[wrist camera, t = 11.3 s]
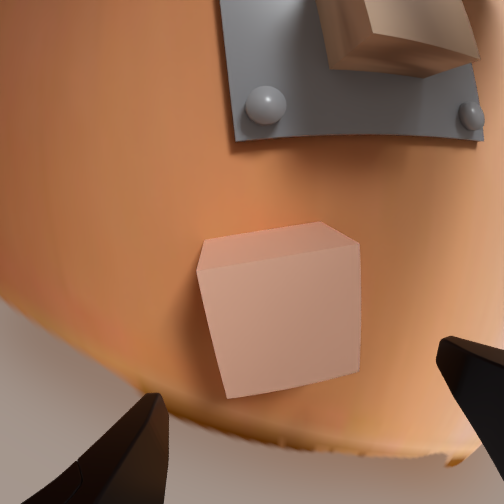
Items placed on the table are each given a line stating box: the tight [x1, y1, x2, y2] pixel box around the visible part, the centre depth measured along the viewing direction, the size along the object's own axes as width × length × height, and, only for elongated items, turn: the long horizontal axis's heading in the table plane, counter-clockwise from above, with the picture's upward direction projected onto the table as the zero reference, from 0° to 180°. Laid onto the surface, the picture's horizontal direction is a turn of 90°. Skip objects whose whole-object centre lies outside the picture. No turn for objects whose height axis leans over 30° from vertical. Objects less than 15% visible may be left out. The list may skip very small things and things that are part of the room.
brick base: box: [315, 0, 481, 79], centre depth 10 cm, size 6×6×5 cm
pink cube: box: [196, 221, 361, 399], centre depth 14 cm, size 6×6×5 cm
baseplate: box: [219, 0, 485, 142], centre depth 12 cm, size 16×13×1 cm
